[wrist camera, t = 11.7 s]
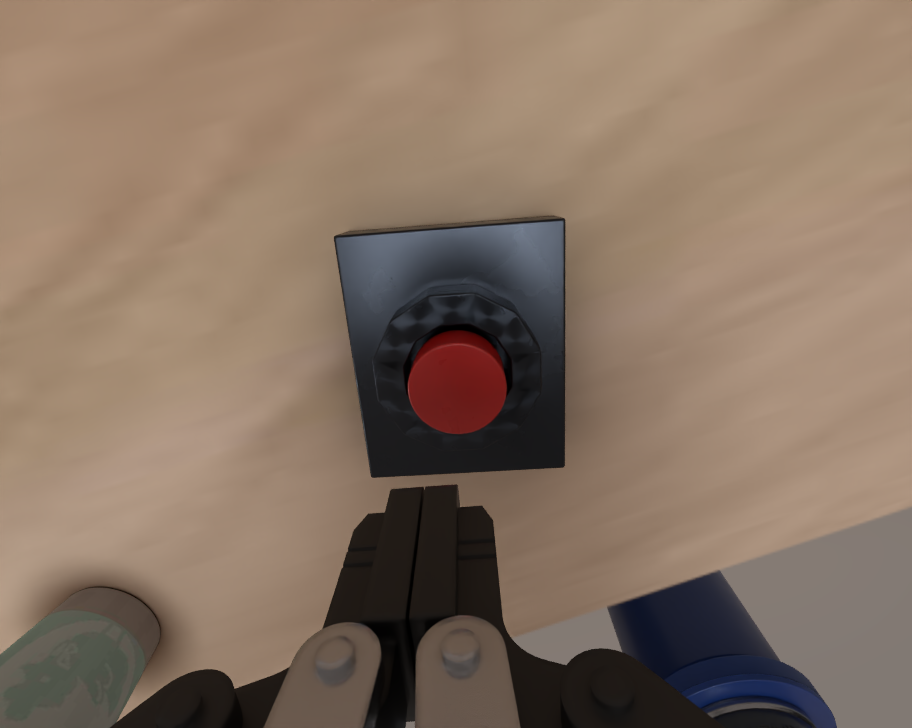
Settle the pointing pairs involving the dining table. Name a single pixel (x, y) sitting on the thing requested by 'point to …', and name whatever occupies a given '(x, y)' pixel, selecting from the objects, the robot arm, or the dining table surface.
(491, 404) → the power button
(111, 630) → the coffee cup
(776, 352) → the dining table surface
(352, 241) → the push button base
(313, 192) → the dining table surface
